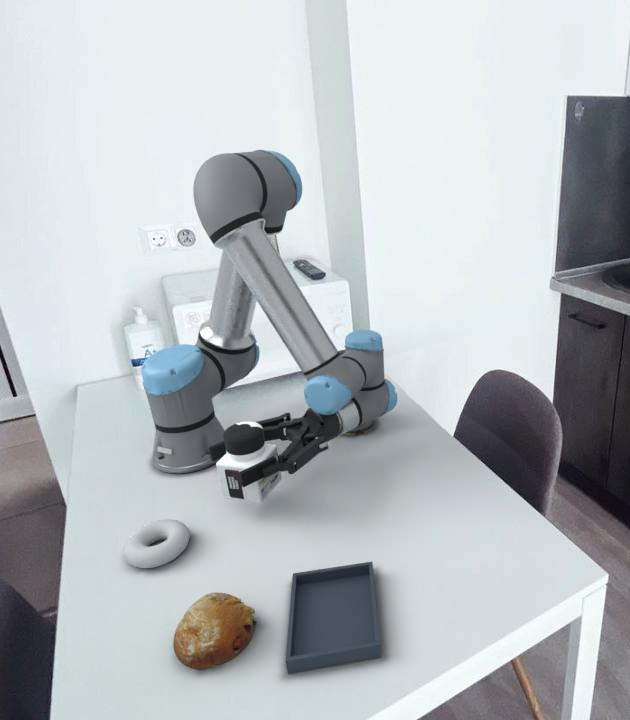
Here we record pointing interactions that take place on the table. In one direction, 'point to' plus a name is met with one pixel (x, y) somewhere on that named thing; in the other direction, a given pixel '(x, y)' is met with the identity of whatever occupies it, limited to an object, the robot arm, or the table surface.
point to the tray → (332, 618)
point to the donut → (158, 554)
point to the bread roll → (213, 631)
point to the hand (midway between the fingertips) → (225, 466)
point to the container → (245, 462)
